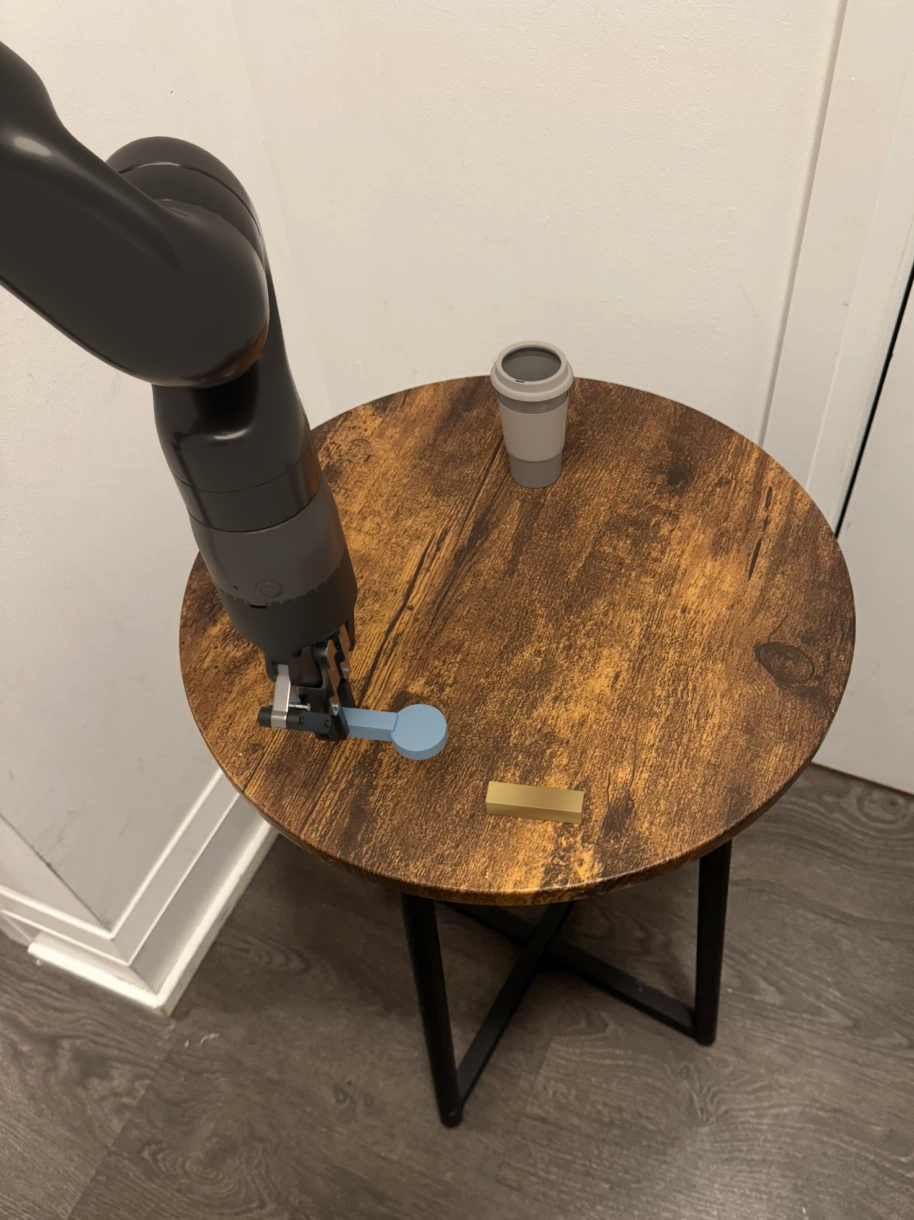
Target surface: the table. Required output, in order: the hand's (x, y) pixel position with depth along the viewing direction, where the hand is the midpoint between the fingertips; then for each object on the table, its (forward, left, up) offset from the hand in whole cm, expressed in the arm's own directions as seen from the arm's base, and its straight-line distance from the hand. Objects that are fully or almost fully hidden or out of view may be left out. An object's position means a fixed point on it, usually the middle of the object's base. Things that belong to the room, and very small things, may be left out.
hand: (337, 723), depth 70 cm
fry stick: (+13, -4, -9) cm, 16 cm away
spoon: (+1, 0, -1) cm, 1 cm away
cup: (+18, +32, -9) cm, 38 cm away
